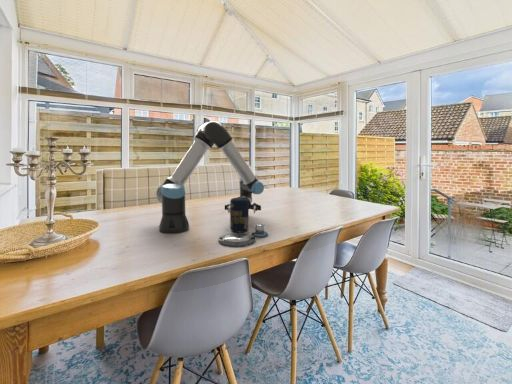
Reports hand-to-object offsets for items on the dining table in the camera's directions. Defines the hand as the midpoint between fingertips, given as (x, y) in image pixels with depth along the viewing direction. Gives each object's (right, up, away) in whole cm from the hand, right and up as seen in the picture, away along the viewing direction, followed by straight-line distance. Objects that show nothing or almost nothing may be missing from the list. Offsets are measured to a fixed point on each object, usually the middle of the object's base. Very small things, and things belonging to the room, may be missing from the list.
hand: (241, 210), depth 153 cm
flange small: (+10, -12, -10) cm, 18 cm away
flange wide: (-1, -13, -20) cm, 23 cm away
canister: (-1, -11, -3) cm, 11 cm away
